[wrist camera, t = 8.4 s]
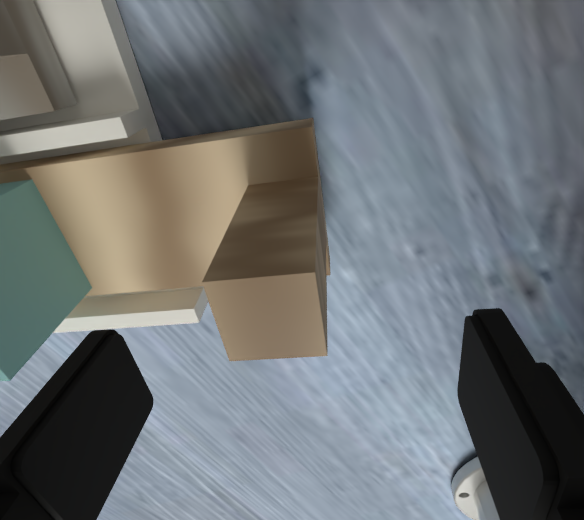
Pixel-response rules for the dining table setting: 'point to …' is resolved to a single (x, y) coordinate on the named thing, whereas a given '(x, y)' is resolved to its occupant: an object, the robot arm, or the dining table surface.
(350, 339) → the dining table surface
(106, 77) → the lane board
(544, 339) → the dining table surface
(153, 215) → the oak strip
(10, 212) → the teal block
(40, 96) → the grey strip
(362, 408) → the dining table surface
